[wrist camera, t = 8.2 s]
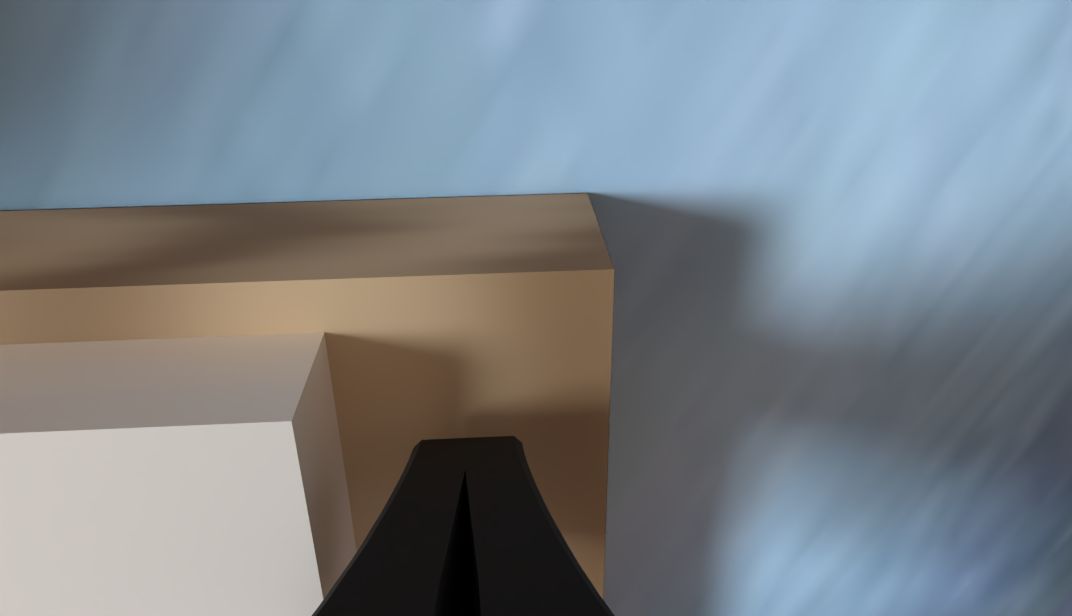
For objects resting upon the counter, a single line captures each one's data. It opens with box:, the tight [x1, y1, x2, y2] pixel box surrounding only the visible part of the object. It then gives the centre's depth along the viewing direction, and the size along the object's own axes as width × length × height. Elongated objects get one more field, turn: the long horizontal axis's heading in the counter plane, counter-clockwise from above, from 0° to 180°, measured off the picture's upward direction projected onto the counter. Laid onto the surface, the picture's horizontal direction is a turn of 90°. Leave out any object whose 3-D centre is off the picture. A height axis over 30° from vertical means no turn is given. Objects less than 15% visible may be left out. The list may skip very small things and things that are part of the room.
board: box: [0, 193, 615, 599], centre depth 14 cm, size 13×12×3 cm
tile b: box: [0, 332, 357, 616], centre depth 10 cm, size 4×4×2 cm
